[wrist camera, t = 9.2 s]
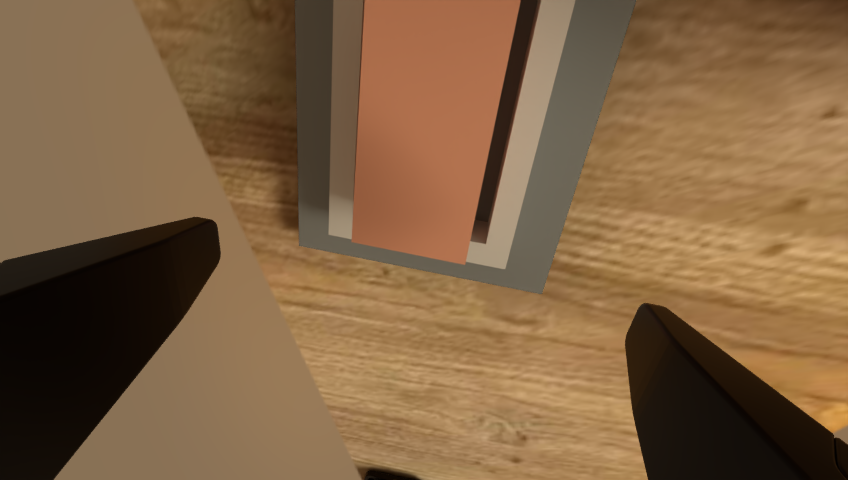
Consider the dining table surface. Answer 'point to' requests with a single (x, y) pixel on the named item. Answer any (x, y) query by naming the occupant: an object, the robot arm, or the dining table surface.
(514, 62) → the pocket board
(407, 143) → the block
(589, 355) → the dining table surface
